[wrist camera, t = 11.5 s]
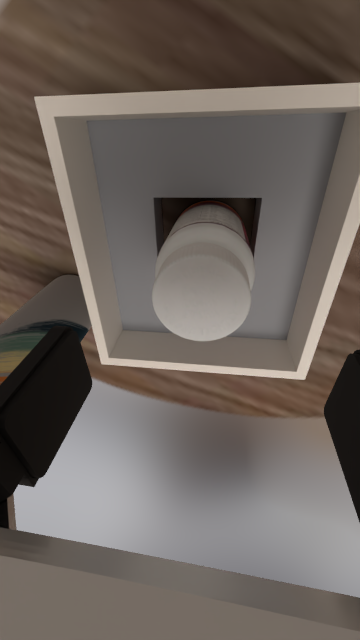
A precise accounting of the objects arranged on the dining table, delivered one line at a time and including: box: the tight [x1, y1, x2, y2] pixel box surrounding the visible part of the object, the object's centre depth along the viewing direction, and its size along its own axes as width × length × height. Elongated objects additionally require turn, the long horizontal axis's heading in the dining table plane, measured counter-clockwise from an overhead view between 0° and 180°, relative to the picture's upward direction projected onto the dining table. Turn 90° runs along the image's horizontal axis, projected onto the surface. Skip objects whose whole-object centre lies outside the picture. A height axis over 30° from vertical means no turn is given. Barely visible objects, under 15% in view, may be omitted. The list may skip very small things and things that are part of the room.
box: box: [34, 83, 360, 380], centre depth 20 cm, size 17×18×7 cm
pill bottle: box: [152, 200, 255, 341], centre depth 18 cm, size 6×6×11 cm
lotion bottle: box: [0, 275, 92, 385], centre depth 20 cm, size 6×6×20 cm
